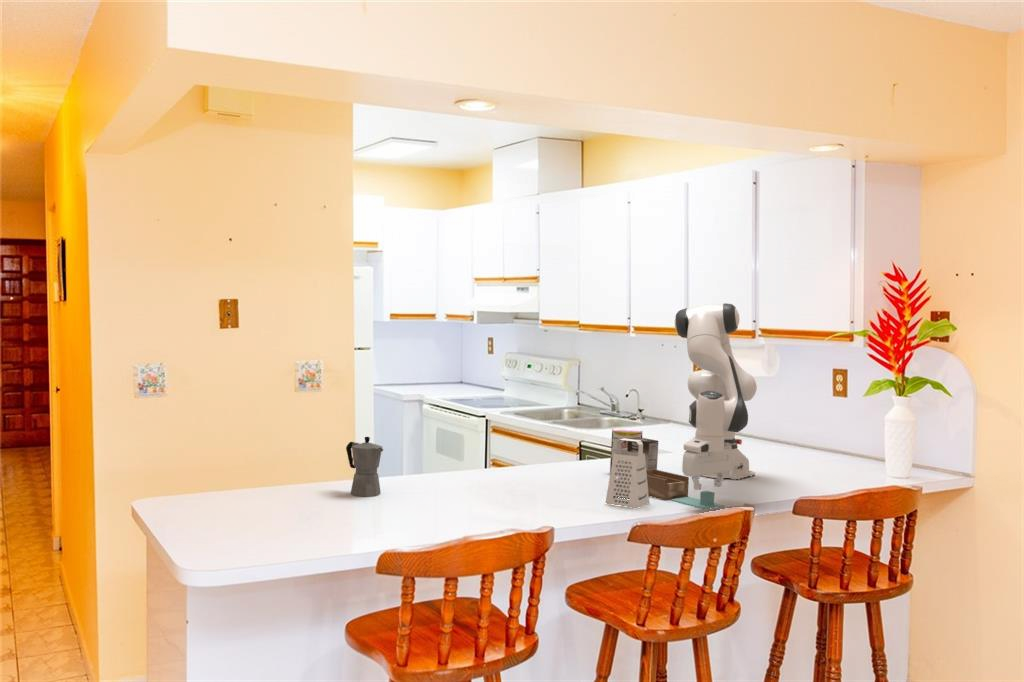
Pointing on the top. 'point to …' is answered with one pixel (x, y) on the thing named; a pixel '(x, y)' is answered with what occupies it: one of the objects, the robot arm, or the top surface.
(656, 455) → the coffee box
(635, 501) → the grater
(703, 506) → the cover plate
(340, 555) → the top surface
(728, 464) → the robot arm
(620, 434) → the candy bar box
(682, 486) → the walnut box
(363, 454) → the coffeepot
